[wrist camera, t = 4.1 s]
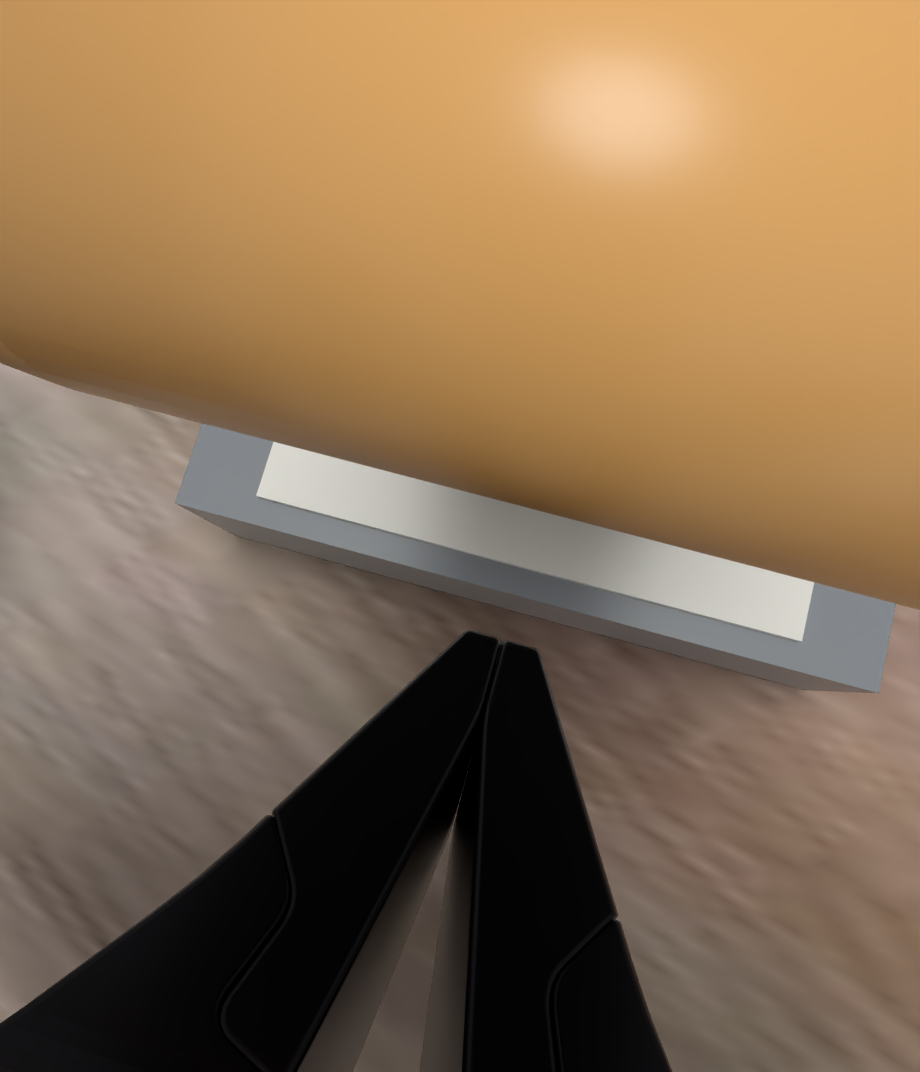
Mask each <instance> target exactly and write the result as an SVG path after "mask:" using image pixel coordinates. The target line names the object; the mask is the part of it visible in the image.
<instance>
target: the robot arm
mask: <svg viewBox="0 0 920 1072" xmlns="http://www.w3.org/2000/svg"><path fill="white" fill-rule="evenodd" d="M500 647H501V648H500ZM499 651H500V652H499ZM498 654H499V656H498ZM497 658H498V659H497ZM496 662H497V663H496ZM495 666H496V667H495ZM492 677H493V678H492ZM471 756H472V757H471ZM470 760H471V761H470ZM468 767H469V768H468ZM467 771H468V772H467ZM466 775H467V776H466ZM465 779H466V780H465ZM464 782H465V784H464ZM463 786H464V787H463ZM462 790H463V791H462ZM461 794H462V795H461ZM460 797H461V799H460ZM459 801H460V803H459ZM458 805H459V807H458ZM457 808H458V811H457ZM456 812H457V815H456ZM455 815H456V819H455V824H454V829H453V834H452V840H451V846H450V853H449V861H448V868H447V875H446V882H445V890H444V897H443V904H442V912H441V919H440V926H439V933H438V941H437V948H436V955H435V963H434V970H433V977H432V984H431V992H430V999H429V1006H428V1013H427V1021H426V1028H425V1035H424V1043H423V1050H422V1057H421V1064H420V1072H672V1070H671V1067H670V1064H669V1062H668V1059H667V1057H666V1054H665V1052H664V1049H663V1047H662V1044H661V1042H660V1039H659V1037H658V1034H657V1031H656V1029H655V1026H654V1024H653V1021H652V1019H651V1016H650V1013H649V1010H648V1007H647V1004H646V1001H645V998H644V995H643V992H642V989H641V986H640V983H639V980H638V977H637V974H636V971H635V968H634V965H633V962H632V959H631V955H630V952H629V949H628V945H627V942H626V939H625V935H624V932H623V929H622V925H621V923H620V922H619V921H617V920H616V918H617V916H618V913H617V910H616V906H615V903H614V900H613V896H612V893H611V890H610V886H609V883H608V880H607V876H606V873H605V870H604V866H603V863H602V860H601V856H600V853H599V849H598V846H597V843H596V839H595V836H594V833H593V829H592V826H591V823H590V819H589V816H588V813H587V809H586V806H585V803H584V799H583V796H582V793H581V789H580V786H579V783H578V779H577V776H576V773H575V769H574V766H573V763H572V759H571V756H570V752H569V749H568V746H567V742H566V739H565V736H564V732H563V729H562V726H561V722H560V719H559V716H558V712H557V709H556V706H555V702H554V699H553V696H552V692H551V689H550V686H549V682H548V679H547V676H546V672H545V669H544V666H543V662H542V659H541V656H540V653H539V651H538V650H537V649H536V648H533V647H530V646H526V645H522V644H519V643H515V642H512V641H505V642H503V643H502V645H501V642H500V640H499V639H498V638H497V637H493V636H490V635H486V634H483V633H479V632H475V631H471V630H470V631H466V632H464V633H463V634H462V635H461V636H459V637H458V638H457V639H456V640H455V641H454V642H453V643H452V644H451V645H450V646H449V647H448V648H447V649H445V650H444V651H443V652H442V653H441V654H440V655H439V656H438V657H437V658H436V659H435V660H434V661H433V662H432V663H430V664H429V665H428V666H427V667H426V668H425V669H424V670H423V671H422V672H421V673H420V674H419V675H418V676H416V677H415V678H414V679H413V680H412V681H411V682H410V683H409V684H408V685H407V686H406V687H405V688H404V689H402V690H401V691H400V692H399V693H398V694H397V695H396V696H395V697H394V698H393V699H392V700H391V701H390V702H388V703H387V704H386V705H385V706H384V707H383V708H382V709H381V710H380V711H379V712H378V713H377V714H376V715H374V716H373V717H372V718H371V719H370V720H369V721H368V722H367V723H366V724H365V725H364V726H363V727H362V728H361V729H359V730H358V731H357V732H356V733H355V734H354V735H353V736H352V737H351V738H350V739H349V740H348V741H347V742H345V743H344V744H343V745H342V746H341V747H340V748H339V749H338V750H337V751H336V752H335V753H334V754H333V755H331V756H330V757H329V758H328V759H327V760H326V761H325V762H324V763H323V764H322V765H321V766H320V767H319V768H317V769H316V770H315V771H314V772H313V773H312V774H311V775H310V776H309V777H308V778H307V779H306V780H305V781H304V782H302V783H301V784H300V785H299V786H298V787H297V788H296V789H295V790H294V791H293V792H292V793H291V794H290V795H288V796H287V797H286V798H285V799H284V800H283V801H282V802H281V803H280V804H279V805H278V806H277V807H276V808H274V810H273V811H272V816H271V815H267V816H265V817H264V818H263V819H262V820H261V821H260V822H259V823H258V824H257V825H256V826H255V827H254V828H252V829H251V830H250V831H249V832H248V833H247V834H246V835H245V836H244V837H243V838H242V839H241V840H240V841H238V842H237V843H236V844H235V845H234V846H233V847H232V848H230V849H229V850H228V851H227V852H226V853H225V854H224V855H222V856H221V857H220V858H219V859H218V860H217V861H215V862H214V863H213V864H212V865H211V866H210V867H209V868H207V869H206V870H205V871H204V872H203V873H202V874H201V875H199V876H198V877H197V878H196V879H194V880H193V881H192V882H191V883H189V884H188V885H187V886H185V887H184V888H183V889H181V890H180V891H179V892H178V893H176V894H175V895H174V896H172V897H171V898H170V899H169V900H167V901H166V902H165V903H163V904H162V905H161V906H160V907H158V908H157V909H156V910H154V911H153V912H152V913H151V914H149V915H148V916H147V917H145V918H144V919H142V920H141V921H140V922H138V923H137V924H136V925H134V926H133V927H132V928H130V929H129V930H128V931H126V932H125V933H123V934H122V935H121V936H119V937H118V938H117V939H115V940H114V941H113V942H111V943H110V944H109V945H107V946H106V947H104V948H103V949H102V950H100V951H99V952H98V953H96V954H95V955H94V956H92V957H91V958H90V959H88V960H87V961H85V962H84V963H83V964H81V965H80V966H79V967H77V968H76V969H75V970H73V971H72V972H71V973H69V974H68V975H66V976H65V977H64V978H62V979H61V980H60V981H58V982H57V983H56V984H54V985H53V986H52V987H50V988H49V989H47V990H46V991H45V992H43V993H42V994H41V995H39V996H38V997H37V998H35V999H34V1000H33V1001H31V1002H30V1003H28V1004H27V1005H26V1006H24V1007H23V1008H21V1009H20V1010H19V1011H17V1012H16V1013H14V1014H13V1015H12V1016H10V1017H9V1018H7V1019H6V1020H5V1021H3V1022H2V1023H0V1072H353V1069H354V1067H355V1064H356V1062H357V1059H358V1057H359V1054H360V1052H361V1050H362V1047H363V1045H364V1042H365V1040H366V1037H367V1035H368V1032H369V1030H370V1027H371V1025H372V1023H373V1020H374V1018H375V1015H376V1013H377V1010H378V1008H379V1005H380V1003H381V1001H382V998H383V996H384V993H385V991H386V988H387V986H388V983H389V981H390V979H391V976H392V974H393V971H394V969H395V966H396V964H397V961H398V959H399V957H400V954H401V952H402V949H403V947H404V944H405V942H406V939H407V937H408V934H409V932H410V930H411V927H412V925H413V922H414V920H415V917H416V915H417V912H418V910H419V908H420V905H421V903H422V900H423V898H424V895H425V893H426V890H427V888H428V886H429V883H430V881H431V878H432V876H433V873H434V871H435V868H436V866H437V864H438V861H439V859H440V856H441V854H442V851H443V849H444V846H445V844H446V841H447V838H448V836H449V833H450V830H451V828H452V825H453V821H454V818H455Z"/></svg>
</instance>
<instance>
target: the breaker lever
mask: <svg viewBox="0 0 920 1072" xmlns="http://www.w3.org/2000/svg"><path fill="white" fill-rule="evenodd" d="M0 362H1V363H2V364H4V365H7V366H10V367H12V368H15V369H18V370H20V371H23V372H26V373H28V374H31V375H34V376H36V377H39V378H42V379H45V380H47V381H50V382H53V383H55V384H58V385H61V386H64V387H67V388H70V389H73V390H76V391H80V392H84V393H88V394H92V395H96V396H99V397H103V398H107V399H111V400H115V401H119V402H122V403H126V404H130V405H134V406H138V407H142V408H146V409H149V410H153V411H157V412H161V413H165V414H169V415H172V416H176V417H180V418H184V419H188V420H192V421H196V422H199V423H203V424H207V425H211V426H215V427H219V428H222V429H226V430H230V431H234V432H238V433H242V434H246V435H249V436H253V437H257V438H261V439H265V440H269V441H272V442H276V443H280V444H284V445H288V446H292V447H296V448H299V449H303V450H307V451H311V452H315V453H319V454H322V455H326V456H330V457H334V458H338V459H342V460H346V461H349V462H353V463H357V464H361V465H365V466H369V467H372V468H376V469H380V470H384V471H388V472H392V473H395V474H399V475H403V476H407V477H411V478H415V479H419V480H422V481H426V482H430V483H434V484H438V485H442V486H445V487H449V488H453V489H457V490H461V491H465V492H469V493H472V494H476V495H480V496H484V497H488V498H492V499H495V500H499V501H503V502H507V503H511V504H515V505H519V506H522V507H526V508H530V509H534V510H538V511H542V512H545V513H549V514H553V515H557V516H561V517H565V518H569V519H572V520H576V521H580V522H584V523H588V524H592V525H595V526H599V527H603V528H607V529H611V530H615V531H619V532H622V533H626V534H630V535H634V536H638V537H642V538H645V539H649V540H653V541H657V542H661V543H665V544H669V545H672V546H676V547H680V548H684V549H688V550H692V551H695V552H699V553H703V554H707V555H711V556H715V557H718V558H722V559H726V560H730V561H734V562H738V563H742V564H745V565H749V566H753V567H757V568H761V569H765V570H768V571H772V572H776V573H780V574H784V575H788V576H792V577H795V578H799V579H803V580H807V581H811V582H815V583H818V584H822V585H826V586H830V587H834V588H838V589H842V590H845V591H849V592H853V593H857V594H861V595H865V596H868V597H872V598H876V599H880V600H884V601H888V602H892V603H895V604H899V605H903V606H907V607H911V608H915V609H918V610H920V0H0Z"/></svg>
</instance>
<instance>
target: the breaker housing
mask: <svg viewBox="0 0 920 1072" xmlns="http://www.w3.org/2000/svg"><path fill="white" fill-rule="evenodd" d="M175 503H176V504H178V505H180V506H181V507H183V508H185V509H187V510H189V511H191V512H193V513H194V514H196V515H198V516H200V517H202V518H204V519H206V520H207V521H209V522H211V523H213V524H215V525H217V526H219V527H220V528H222V529H224V530H226V531H228V532H230V533H232V534H233V535H236V536H239V537H243V538H247V539H250V540H254V541H258V542H261V543H265V544H269V545H272V546H276V547H280V548H283V549H287V550H291V551H294V552H298V553H302V554H306V555H309V556H313V557H317V558H320V559H324V560H328V561H331V562H335V563H339V564H342V565H346V566H350V567H353V568H357V569H361V570H364V571H368V572H372V573H375V574H379V575H383V576H386V577H390V578H394V579H397V580H401V581H405V582H408V583H412V584H416V585H420V586H423V587H427V588H431V589H434V590H438V591H442V592H445V593H449V594H453V595H456V596H460V597H464V598H467V599H471V600H475V601H478V602H482V603H486V604H489V605H493V606H497V607H500V608H504V609H508V610H511V611H515V612H519V613H522V614H526V615H530V616H534V617H537V618H541V619H545V620H548V621H552V622H556V623H559V624H563V625H567V626H570V627H574V628H578V629H581V630H585V631H589V632H592V633H596V634H600V635H603V636H607V637H611V638H614V639H618V640H622V641H625V642H629V643H633V644H636V645H640V646H644V647H648V648H651V649H655V650H659V651H662V652H666V653H670V654H673V655H677V656H681V657H684V658H688V659H692V660H695V661H699V662H703V663H706V664H710V665H714V666H717V667H721V668H725V669H728V670H732V671H736V672H739V673H743V674H747V675H750V676H754V677H758V678H761V679H765V680H769V681H773V682H776V683H780V684H784V685H787V686H791V687H795V688H798V689H802V690H817V691H840V692H862V693H879V690H880V685H881V680H882V675H883V669H884V664H885V659H886V654H887V648H888V643H889V638H890V633H891V627H892V622H893V617H894V612H895V607H896V604H895V603H892V602H888V601H884V600H880V599H876V598H872V597H868V596H865V595H861V594H857V593H853V592H849V591H845V590H842V589H838V588H834V587H830V586H826V585H822V584H818V583H815V582H811V581H807V580H803V579H799V578H795V577H792V576H788V575H784V574H780V573H776V572H772V571H768V570H765V569H761V568H757V567H753V566H749V565H745V564H742V563H738V562H734V561H730V560H726V559H722V558H718V557H715V556H711V555H707V554H703V553H699V552H695V551H692V550H688V549H684V548H680V547H676V546H672V545H669V544H665V543H661V542H657V541H653V540H649V539H645V538H642V537H638V536H634V535H630V534H626V533H622V532H619V531H615V530H611V529H607V528H603V527H599V526H595V525H592V524H588V523H584V522H580V521H576V520H572V519H569V518H565V517H561V516H557V515H553V514H549V513H545V512H542V511H538V510H534V509H530V508H526V507H522V506H519V505H515V504H511V503H507V502H503V501H499V500H495V499H492V498H488V497H484V496H480V495H476V494H472V493H469V492H465V491H461V490H457V489H453V488H449V487H445V486H442V485H438V484H434V483H430V482H426V481H422V480H419V479H415V478H411V477H407V476H403V475H399V474H395V473H392V472H388V471H384V470H380V469H376V468H372V467H369V466H365V465H361V464H357V463H353V462H349V461H346V460H342V459H338V458H334V457H330V456H326V455H322V454H319V453H315V452H311V451H307V450H303V449H299V448H296V447H292V446H288V445H284V444H280V443H276V442H272V441H269V440H265V439H261V438H257V437H253V436H249V435H246V434H242V433H238V432H234V431H230V430H226V429H222V428H219V427H215V426H211V425H207V424H203V423H202V425H201V428H200V431H199V434H198V437H197V440H196V443H195V446H194V449H193V452H192V455H191V458H190V461H189V464H188V467H187V470H186V473H185V476H184V479H183V482H182V485H181V488H180V491H179V493H178V496H177V499H176V502H175Z"/></svg>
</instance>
